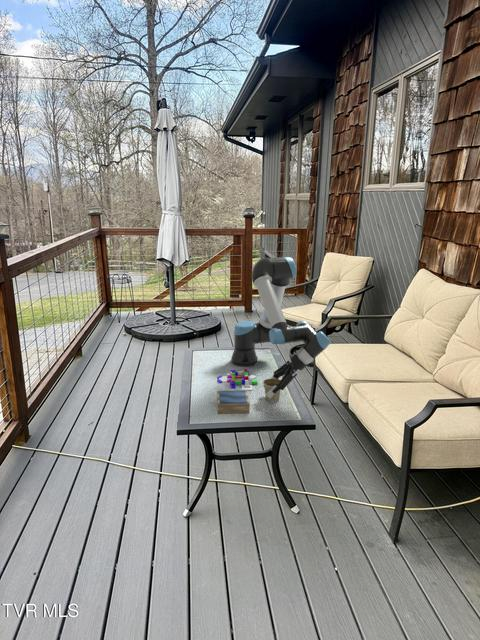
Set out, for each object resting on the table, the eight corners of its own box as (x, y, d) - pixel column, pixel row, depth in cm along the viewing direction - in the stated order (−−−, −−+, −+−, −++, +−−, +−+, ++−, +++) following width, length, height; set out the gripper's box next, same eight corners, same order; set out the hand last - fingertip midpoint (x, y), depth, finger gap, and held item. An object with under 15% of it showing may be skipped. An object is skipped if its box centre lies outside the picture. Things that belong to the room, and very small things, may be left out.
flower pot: (259, 397, 202) (259, 380, 200) (276, 393, 206) (277, 376, 203) (268, 405, 194) (268, 387, 191) (286, 401, 197) (286, 384, 195)
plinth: (217, 399, 199) (217, 390, 197) (247, 399, 200) (247, 389, 198) (217, 414, 185) (217, 404, 184) (249, 413, 186) (249, 403, 185)
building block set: (218, 371, 233) (217, 364, 231) (255, 371, 233) (255, 364, 232) (216, 391, 208) (216, 383, 207) (258, 391, 209) (258, 383, 208)
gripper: (312, 373, 185) (275, 407, 189) (302, 356, 207) (268, 386, 210) (300, 362, 184) (263, 397, 187) (291, 345, 205) (258, 377, 208)
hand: (266, 391), depth 198 cm, fingers closed on flower pot, 9 cm apart
